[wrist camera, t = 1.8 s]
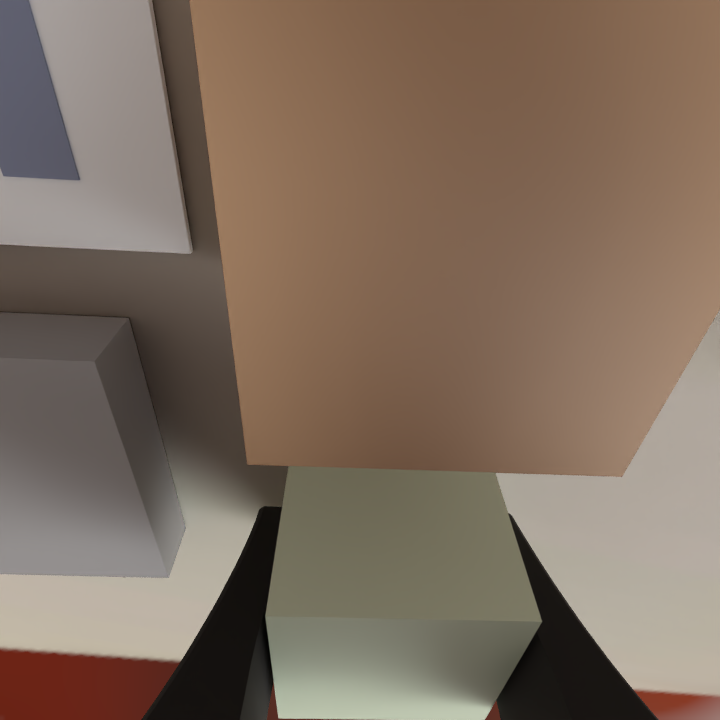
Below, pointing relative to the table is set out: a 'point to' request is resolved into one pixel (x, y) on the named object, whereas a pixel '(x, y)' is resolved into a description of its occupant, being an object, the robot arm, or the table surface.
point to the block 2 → (395, 595)
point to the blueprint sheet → (87, 129)
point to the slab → (81, 453)
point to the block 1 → (462, 224)
